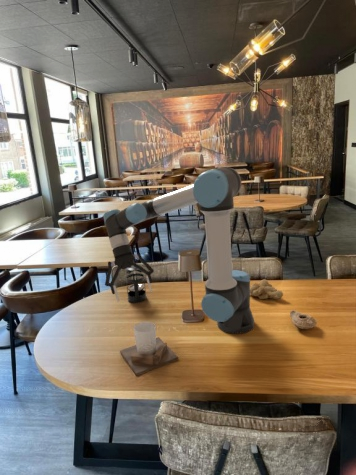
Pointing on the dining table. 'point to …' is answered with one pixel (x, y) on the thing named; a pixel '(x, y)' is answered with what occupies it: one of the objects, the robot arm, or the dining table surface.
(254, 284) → the ginger root
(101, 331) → the dining table surface
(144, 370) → the brown flat square slab
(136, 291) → the french press
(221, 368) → the dining table surface
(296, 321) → the pottery oil lamp
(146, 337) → the white cup
